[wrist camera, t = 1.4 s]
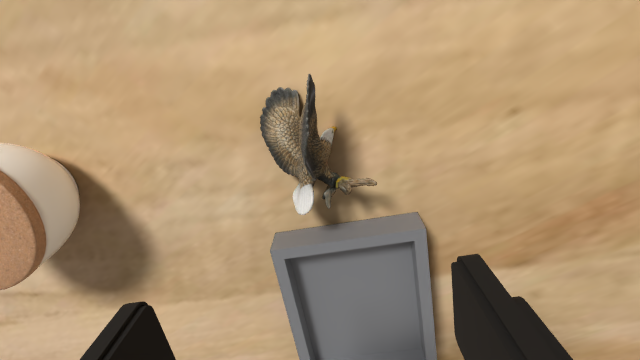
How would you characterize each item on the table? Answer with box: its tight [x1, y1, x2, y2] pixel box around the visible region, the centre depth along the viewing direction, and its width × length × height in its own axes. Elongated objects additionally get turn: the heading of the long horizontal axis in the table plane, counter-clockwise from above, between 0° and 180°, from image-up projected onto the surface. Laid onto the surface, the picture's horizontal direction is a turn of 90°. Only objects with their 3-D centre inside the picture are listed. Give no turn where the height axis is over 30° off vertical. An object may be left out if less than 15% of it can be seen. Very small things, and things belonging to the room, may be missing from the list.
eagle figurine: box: [260, 74, 377, 215], centre depth 26 cm, size 8×7×9 cm
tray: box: [270, 212, 437, 360], centre depth 32 cm, size 13×16×3 cm
